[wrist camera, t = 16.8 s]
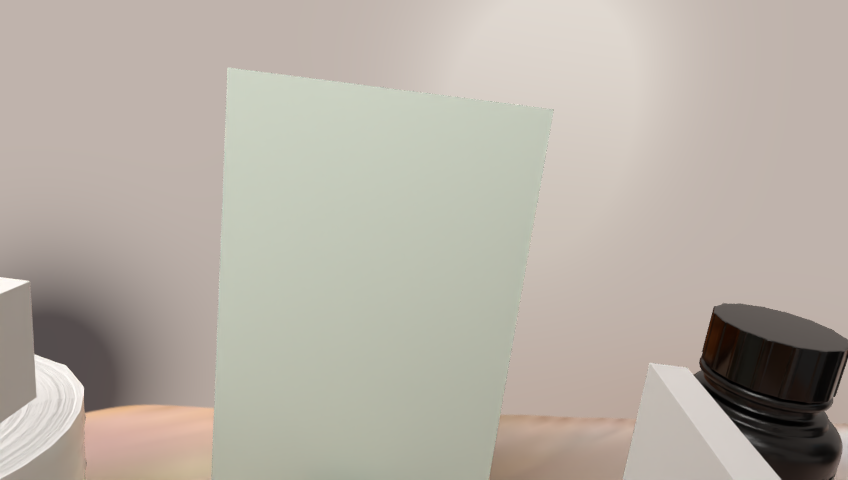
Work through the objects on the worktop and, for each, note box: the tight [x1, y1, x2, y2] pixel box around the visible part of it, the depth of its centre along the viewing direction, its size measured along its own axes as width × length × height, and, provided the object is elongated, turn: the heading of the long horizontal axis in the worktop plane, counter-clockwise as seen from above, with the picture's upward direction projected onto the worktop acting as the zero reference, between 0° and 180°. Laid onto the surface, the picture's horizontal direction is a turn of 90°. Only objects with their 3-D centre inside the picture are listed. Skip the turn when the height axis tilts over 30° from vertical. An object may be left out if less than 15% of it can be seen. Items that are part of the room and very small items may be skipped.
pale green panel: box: [211, 68, 554, 480], centre depth 23 cm, size 11×3×22 cm, turn 87°
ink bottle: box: [694, 304, 848, 480], centre depth 34 cm, size 10×9×12 cm
